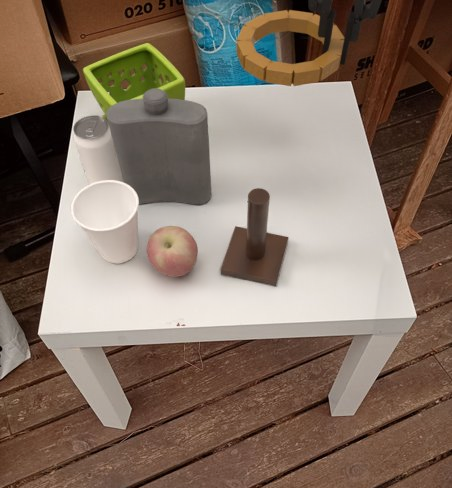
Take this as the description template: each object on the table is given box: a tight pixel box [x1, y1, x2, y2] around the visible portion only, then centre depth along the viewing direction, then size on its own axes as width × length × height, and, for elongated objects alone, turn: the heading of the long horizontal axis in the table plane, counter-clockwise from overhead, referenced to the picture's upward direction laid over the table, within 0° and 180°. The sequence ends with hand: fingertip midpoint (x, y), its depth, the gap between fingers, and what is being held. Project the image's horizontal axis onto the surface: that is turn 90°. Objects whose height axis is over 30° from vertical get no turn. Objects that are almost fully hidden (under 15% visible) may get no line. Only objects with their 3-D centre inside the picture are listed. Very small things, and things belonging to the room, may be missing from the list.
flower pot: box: [82, 42, 186, 125], centre depth 92 cm, size 14×14×13 cm
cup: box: [70, 180, 140, 264], centre depth 78 cm, size 10×10×11 cm
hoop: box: [236, 9, 345, 87], centre depth 78 cm, size 16×16×2 cm
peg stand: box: [220, 187, 290, 287], centre depth 75 cm, size 9×9×14 cm
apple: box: [146, 225, 199, 277], centre depth 77 cm, size 8×8×8 cm
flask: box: [106, 88, 213, 206], centre depth 80 cm, size 15×6×20 cm, turn 88°
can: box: [72, 114, 124, 185], centre depth 86 cm, size 6×6×12 cm
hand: (334, 57), depth 77 cm, fingers closed on hoop, 2 cm apart
